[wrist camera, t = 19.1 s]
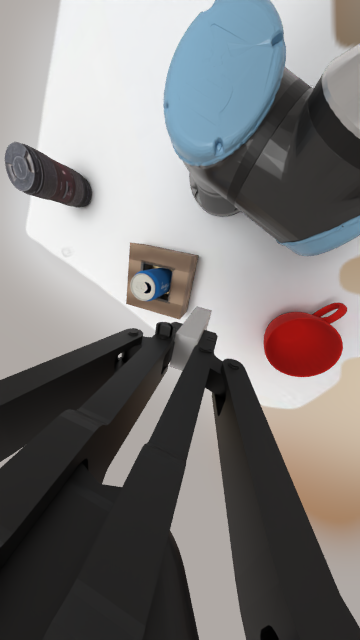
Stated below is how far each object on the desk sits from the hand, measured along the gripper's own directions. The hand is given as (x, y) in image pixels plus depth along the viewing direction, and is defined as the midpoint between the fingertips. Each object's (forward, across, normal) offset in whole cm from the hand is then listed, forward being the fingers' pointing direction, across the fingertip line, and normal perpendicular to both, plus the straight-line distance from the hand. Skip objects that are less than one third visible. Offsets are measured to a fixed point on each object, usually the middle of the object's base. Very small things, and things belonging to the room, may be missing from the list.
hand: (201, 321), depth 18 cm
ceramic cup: (+30, +19, -6) cm, 36 cm away
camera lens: (+30, -42, +14) cm, 53 cm away
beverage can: (+28, -15, -3) cm, 32 cm away
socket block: (+29, -15, -3) cm, 33 cm away
